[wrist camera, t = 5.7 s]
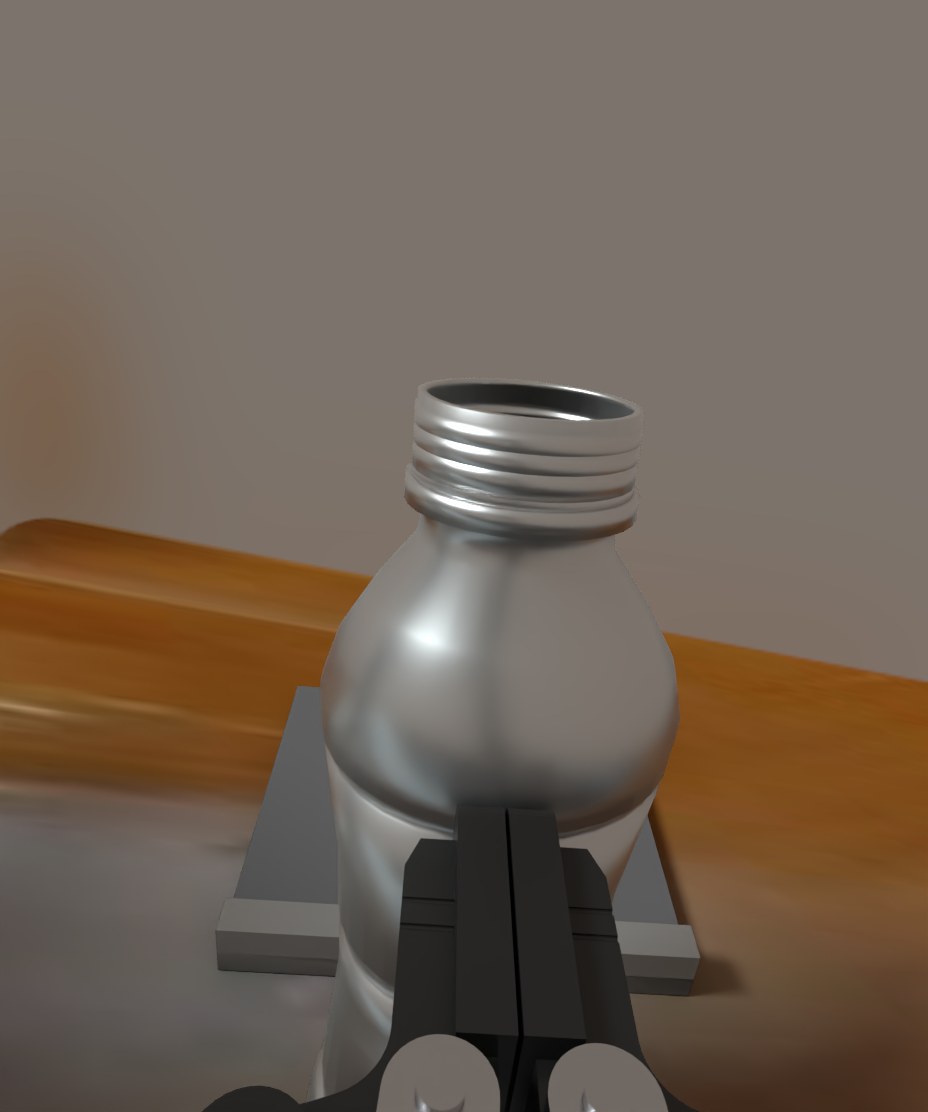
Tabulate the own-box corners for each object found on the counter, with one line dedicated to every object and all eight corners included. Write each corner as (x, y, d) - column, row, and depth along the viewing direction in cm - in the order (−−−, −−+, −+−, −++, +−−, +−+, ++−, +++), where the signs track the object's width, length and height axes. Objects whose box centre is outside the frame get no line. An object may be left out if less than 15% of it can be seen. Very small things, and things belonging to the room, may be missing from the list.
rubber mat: (218, 969, 26) (215, 930, 25) (298, 699, 38) (297, 668, 37) (688, 995, 26) (700, 958, 25) (614, 722, 39) (620, 691, 38)
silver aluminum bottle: (303, 1081, 23) (320, 354, 16) (538, 1063, 24) (655, 377, 17) (291, 1380, 17) (308, 432, 10) (603, 1339, 18) (830, 460, 11)
